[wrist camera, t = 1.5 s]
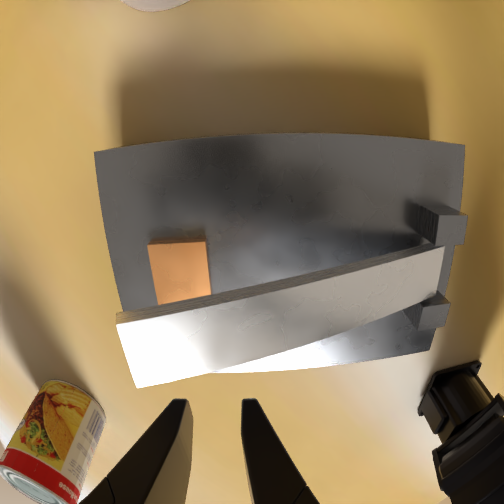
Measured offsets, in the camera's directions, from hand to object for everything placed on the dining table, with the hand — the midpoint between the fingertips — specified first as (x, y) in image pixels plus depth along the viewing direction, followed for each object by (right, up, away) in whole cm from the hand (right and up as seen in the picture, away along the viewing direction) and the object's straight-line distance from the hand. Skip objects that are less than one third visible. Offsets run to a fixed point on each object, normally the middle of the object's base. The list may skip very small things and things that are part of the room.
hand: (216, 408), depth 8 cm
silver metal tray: (+3, +5, +12) cm, 13 cm away
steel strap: (+4, +2, +5) cm, 7 cm away
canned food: (-18, -12, +19) cm, 28 cm away
